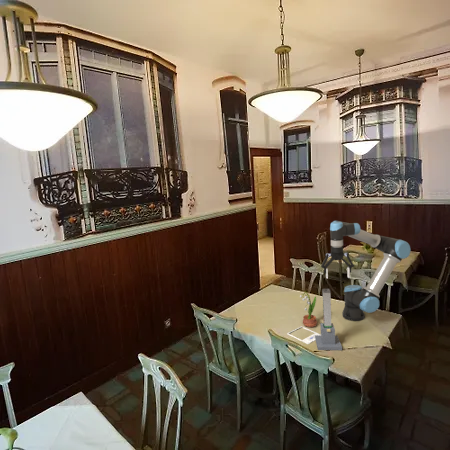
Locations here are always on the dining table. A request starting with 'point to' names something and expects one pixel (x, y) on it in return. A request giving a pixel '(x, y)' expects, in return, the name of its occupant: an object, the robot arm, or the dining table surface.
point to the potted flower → (309, 319)
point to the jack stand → (328, 339)
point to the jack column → (327, 308)
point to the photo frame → (308, 339)
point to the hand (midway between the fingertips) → (337, 277)
